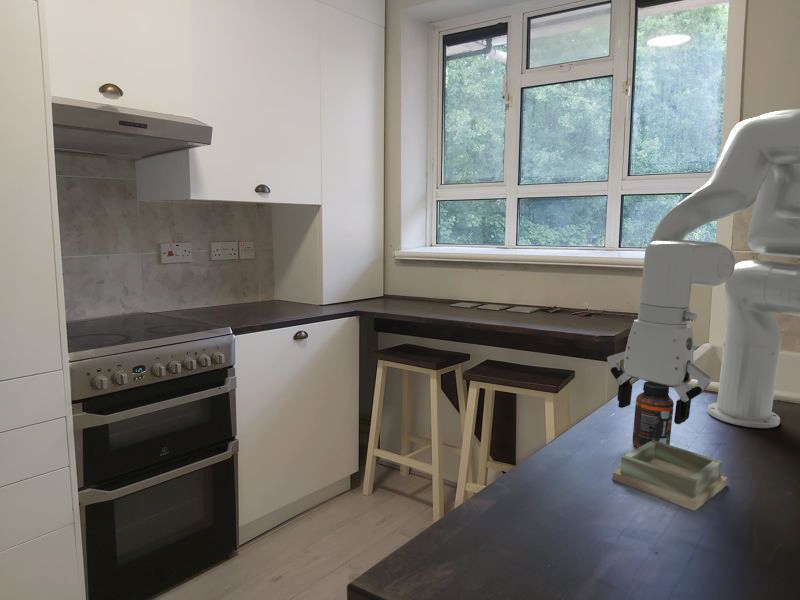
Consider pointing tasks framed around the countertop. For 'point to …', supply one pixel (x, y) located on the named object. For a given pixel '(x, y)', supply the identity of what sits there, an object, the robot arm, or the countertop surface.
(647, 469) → the socket board
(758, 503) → the countertop surface
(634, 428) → the supplement bottle
